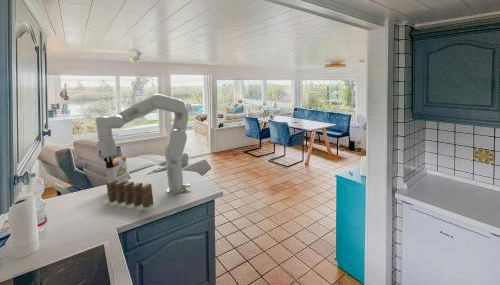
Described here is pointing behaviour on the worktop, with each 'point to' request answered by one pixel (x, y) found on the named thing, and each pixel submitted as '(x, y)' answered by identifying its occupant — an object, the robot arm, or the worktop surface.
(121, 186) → the domino
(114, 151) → the robot arm
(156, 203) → the mat
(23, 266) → the worktop surface
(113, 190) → the domino
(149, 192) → the domino
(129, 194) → the domino
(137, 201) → the domino
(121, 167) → the cracker box
